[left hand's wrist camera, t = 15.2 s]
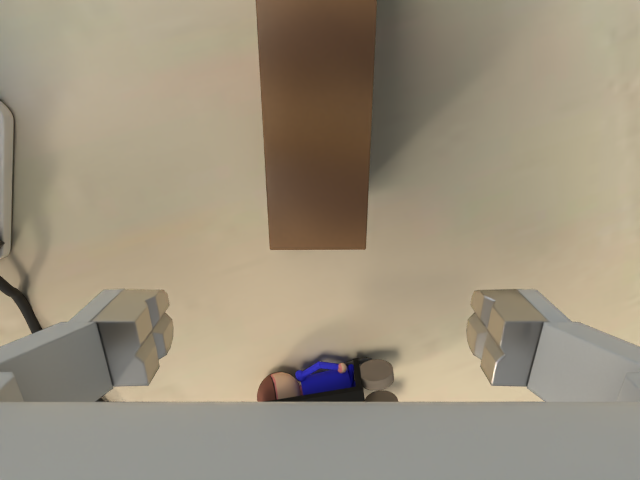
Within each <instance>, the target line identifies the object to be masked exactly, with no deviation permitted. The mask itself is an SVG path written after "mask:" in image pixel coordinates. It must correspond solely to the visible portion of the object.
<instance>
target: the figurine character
mask: <svg viewBox="0 0 640 480" xmlns="http://www.w3.org/2000/svg"><path fill="white" fill-rule="evenodd" d="M359 364H361V365H360V366H359ZM347 367H348V370H347ZM320 368H321V369H330V370H329V371H324V372H320V373H315V374H312V373H313V372H315V371H317V370H318V369H320ZM310 374H311V375H310ZM354 375H355V379H354ZM295 376H296V379H297V380H298V381H301V385H302V386H299V383H298V382H297V380H296V379H295V378H294V377H293V376H291V375H290V374H287V373H284V372H276V373H273V374H270V375H269V376H267V377H266V378H265V379H264V380H263V381H262V383H261V384H260V386H259V389H258V393H257V401H258V402H398V399H397V397H396V396H395V395H394V394H393V393H391V392H388V391H377V390H383V389H385V388H387V387H389V386H390V385H391V384H392V383H393V381H394V374H393V367H392V365H391V364H390V363H389V362H387V361H384V360H379V359H375V360H371V359H370V358H367V357H366V358H362V359H353V361H349V362H346V363H345V364H344V363H340V364H336V363H328V362H320V361H318V362H317V363H315V364H314V365H312V366H310V367H309V368H307V369H305V370H304V371H301V370H298V371H297V372H296V373H295ZM363 387H364V388H365V389H368V390H374V391H375V392H373V393H371V394H369V395H368V396H367V397H366V399H364V392H363Z"/></svg>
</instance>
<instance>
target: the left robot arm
mask: <svg viewBox="0 0 640 480" xmlns="http://www.w3.org/2000/svg"><path fill="white" fill-rule="evenodd" d="M13 126H14V121H13V116H12V113H11V112H10V110H9V109H8V108H7V107H6V106H5V105H4V104H3V103H2V102H1V101H0V259H2V258H4V257H6V256H8V255H9V253H10V249H11V213H12V170H13ZM0 290H1V291H2V292H3V293H5V294H6V295H8V296H10V297H11V298H12V299H13V300H14V301H15V303H16V304H17V306H18V307H19V309H20V310H21V312H22V314H23V316H24V318H25V320H26V322H27V324H28V326H29V328H30V330H31V332H32V334H31V335H28V336H26V337H23V338H21V339H18V340H16V341H13V342H11V343H8V344H6V345H3V346H1V347H0V480H640V347H639V346H637V345H634V344H632V343H629V342H627V341H624V340H622V339H619V338H617V337H614V336H612V335H609V334H607V333H604V332H602V331H600V330H597V329H595V328H592V327H590V326H587V325H585V324H582V323H580V322H572V321H571V320H569V319H568V318H567V317H566V316H565V315H564V314H563V313H562V312H561V311H560V310H558V309H557V308H556V307H555V306H554V305H553V304H552V303H551V302H550V301H549V300H547V299H546V298H545V297H544V296H543V295H542V294H541V293H540V292H539V291H538V290H535V289H503V290H477V291H474V293H473V295H472V299H471V304H470V305H471V307H472V308H473V310H474V311H475V313H474V314H473V315H472V316H471V317H470V318H469V319H468V323H467V330H466V331H467V341H468V344H469V347H470V349H471V351H472V353H473V355H475V356H476V357H478V358H479V359H481V366H480V367H481V369H482V370H483V372H484V374H485V375H486V377H487V379H488V380H489V382H490V384H491V385H492V386H527V389H529V390H530V391H531V392H533V393H534V394H536V395H537V396H538V397H540V398H541V399H542V400H544V401H545V402H104V401H103V400H102V399H101V397H102V396H103V395H105V394H106V393H107V392H109V391H110V390H111V389H113V386H149V384H150V382H151V380H152V379H153V377H154V375H155V374H156V372H157V370H158V369H159V367H160V366H159V359H161V358H162V357H164V356H165V355H167V353H168V351H169V349H170V348H171V344H172V340H173V322H172V319H171V318H170V317H169V316H168V315H167V314H166V313H165V311H166V310H167V308H168V307H169V300H168V295H167V293H166V292H165V291H164V290H141V289H106V290H103V291H102V292H100V293H99V294H98V295H97V296H96V297H95V298H94V299H93V300H92V301H90V302H89V303H88V304H87V305H86V306H85V307H84V308H83V309H82V310H81V311H79V312H78V313H77V314H76V315H75V316H74V317H73V318H72V319H71V320H69V321H68V322H60V323H58V324H55V325H53V326H50V327H48V328H45V329H43V330H42V329H41V327H40V325H39V323H38V321H37V319H36V317H35V315H34V313H33V311H32V309H31V306H30V304H29V303H28V301H27V300H26V298H25V297H24V295H23V294H22V293H21V292H20V291H19V290H18V289H16V288H14V287H13V286H11V285H10V284H9V283H8V282H7V281H6V280H4V279H3V278H2V277H1V276H0Z"/></svg>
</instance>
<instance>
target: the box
mask: <svg viewBox="0 0 640 480" xmlns="http://www.w3.org/2000/svg"><path fill="white" fill-rule="evenodd" d="M376 12H377V0H256V13H257V30H258V48H259V66H260V84H261V101H262V119H263V137H264V154H265V172H266V190H267V207H268V225H269V243H270V250H347V249H366V233H367V211H368V189H369V166H370V144H371V122H372V100H373V78H374V56H375V34H376Z"/></svg>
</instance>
